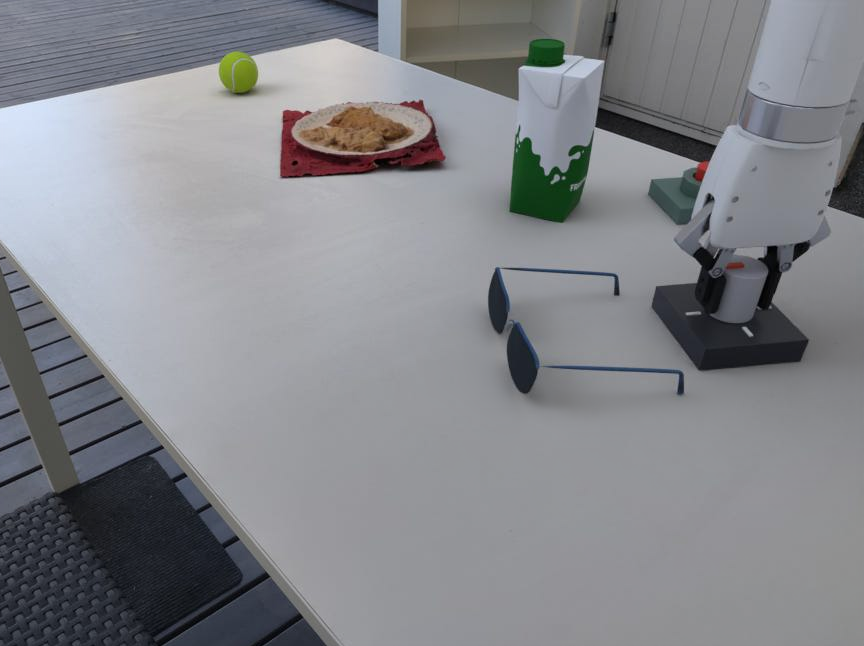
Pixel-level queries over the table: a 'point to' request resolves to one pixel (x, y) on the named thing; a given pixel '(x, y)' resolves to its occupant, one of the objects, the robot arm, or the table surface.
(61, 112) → the table surface
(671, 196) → the green button base
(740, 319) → the temp dial
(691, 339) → the dial panel
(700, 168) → the power button
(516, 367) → the sunglasses
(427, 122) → the plate with food
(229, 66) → the tennis ball
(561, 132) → the milk carton
